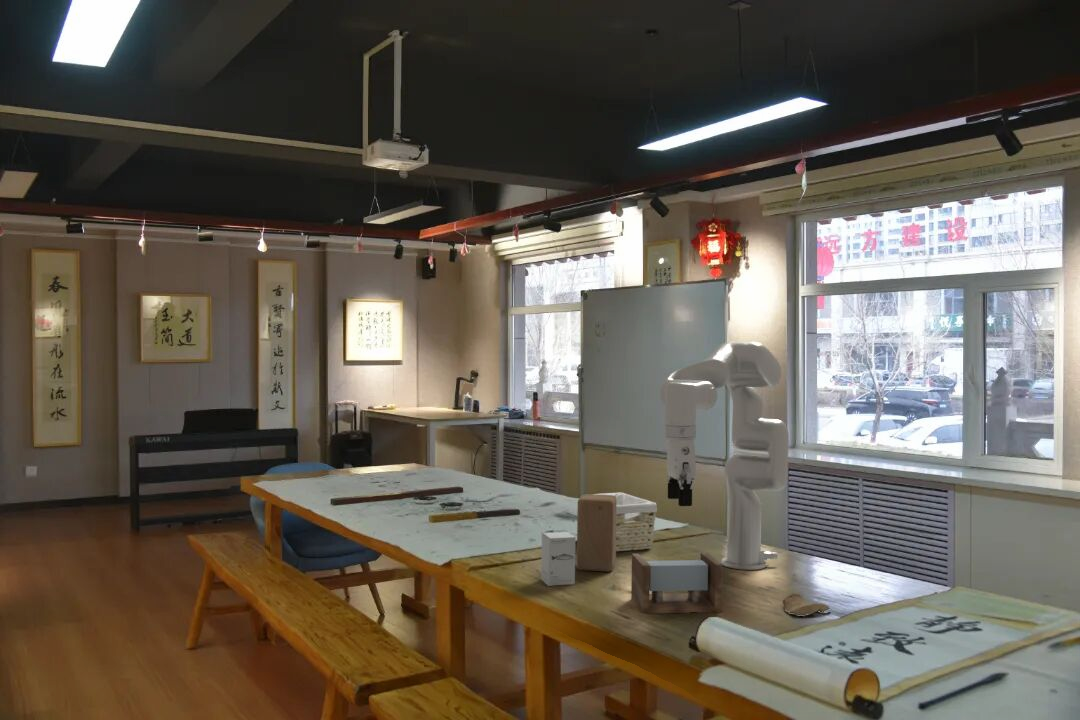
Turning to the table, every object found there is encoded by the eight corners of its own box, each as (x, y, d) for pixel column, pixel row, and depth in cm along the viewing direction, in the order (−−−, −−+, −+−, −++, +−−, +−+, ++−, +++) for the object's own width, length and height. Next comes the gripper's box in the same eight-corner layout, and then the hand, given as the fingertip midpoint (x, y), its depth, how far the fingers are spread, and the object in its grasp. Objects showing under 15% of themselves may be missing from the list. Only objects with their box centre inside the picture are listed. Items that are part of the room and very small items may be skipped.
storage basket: (577, 538, 284) (578, 493, 284) (621, 535, 290) (622, 491, 290) (612, 554, 262) (612, 505, 262) (658, 550, 268) (659, 502, 268)
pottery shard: (833, 620, 204) (804, 599, 213) (836, 603, 203) (806, 583, 212) (797, 628, 200) (769, 606, 209) (800, 611, 199) (771, 590, 207)
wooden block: (612, 572, 239) (612, 500, 239) (576, 570, 241) (577, 498, 241) (616, 564, 249) (617, 494, 249) (581, 562, 251) (582, 493, 251)
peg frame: (706, 597, 216) (706, 552, 216) (721, 611, 204) (722, 564, 204) (631, 599, 214) (631, 553, 214) (642, 613, 202) (642, 565, 202)
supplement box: (548, 586, 224) (548, 538, 224) (540, 579, 231) (541, 532, 231) (575, 585, 226) (576, 536, 226) (567, 577, 233) (567, 531, 233)
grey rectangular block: (701, 584, 212) (701, 560, 212) (707, 590, 207) (708, 565, 207) (645, 585, 211) (645, 560, 211) (650, 591, 206) (650, 565, 206)
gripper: (705, 436, 204) (705, 508, 204) (685, 428, 221) (684, 495, 222) (674, 436, 203) (674, 509, 203) (656, 429, 220) (655, 496, 221)
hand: (679, 502), depth 213 cm, fingers open, 9 cm apart
